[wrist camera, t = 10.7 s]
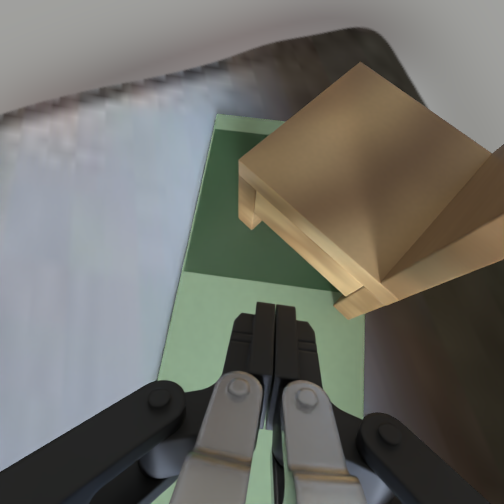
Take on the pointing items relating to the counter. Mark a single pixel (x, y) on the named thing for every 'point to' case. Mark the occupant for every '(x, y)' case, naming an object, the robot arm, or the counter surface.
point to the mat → (250, 294)
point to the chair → (376, 193)
